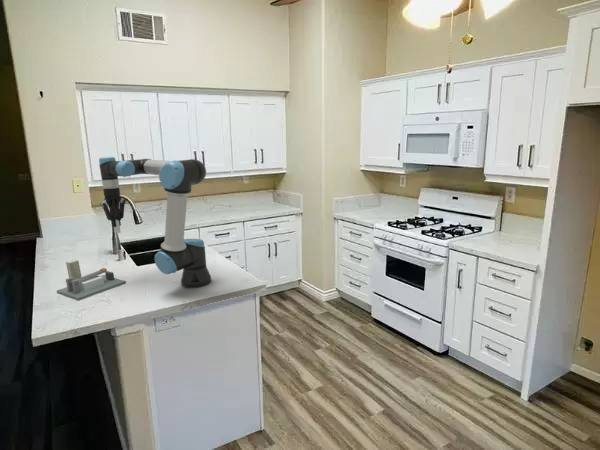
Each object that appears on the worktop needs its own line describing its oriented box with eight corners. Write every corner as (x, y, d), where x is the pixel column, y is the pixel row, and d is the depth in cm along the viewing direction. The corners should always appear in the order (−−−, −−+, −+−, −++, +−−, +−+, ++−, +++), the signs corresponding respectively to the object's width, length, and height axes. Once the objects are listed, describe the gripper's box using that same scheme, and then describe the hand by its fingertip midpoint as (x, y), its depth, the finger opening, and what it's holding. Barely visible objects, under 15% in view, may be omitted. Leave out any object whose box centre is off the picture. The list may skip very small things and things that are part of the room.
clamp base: (126, 283, 205) (124, 269, 203) (78, 300, 185) (75, 285, 183) (104, 277, 216) (102, 263, 214) (56, 292, 195) (54, 278, 194)
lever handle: (107, 271, 205) (106, 268, 204) (76, 283, 192) (75, 280, 191) (104, 270, 206) (103, 267, 206) (73, 282, 193) (72, 279, 193)
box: (79, 277, 216) (75, 258, 213) (82, 279, 213) (79, 260, 211) (68, 280, 212) (65, 261, 209) (72, 282, 209) (68, 262, 207)
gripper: (118, 185, 206) (124, 229, 211) (94, 189, 195) (101, 234, 200) (127, 186, 202) (133, 230, 207) (103, 189, 191) (110, 236, 196)
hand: (117, 232), depth 204 cm, fingers closed
